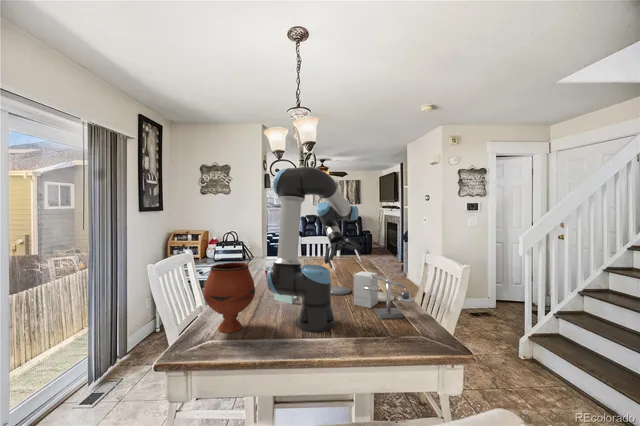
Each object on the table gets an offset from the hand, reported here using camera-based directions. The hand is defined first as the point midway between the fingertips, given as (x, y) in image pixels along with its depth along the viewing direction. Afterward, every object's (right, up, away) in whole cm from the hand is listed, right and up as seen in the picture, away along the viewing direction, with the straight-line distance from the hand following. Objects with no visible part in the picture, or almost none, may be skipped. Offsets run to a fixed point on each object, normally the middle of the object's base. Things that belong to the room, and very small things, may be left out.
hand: (347, 266), depth 152 cm
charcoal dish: (-4, -17, +17) cm, 25 cm away
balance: (+16, -18, -19) cm, 31 cm away
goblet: (-49, -19, -31) cm, 61 cm away
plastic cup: (-41, -17, +25) cm, 51 cm away
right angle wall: (-29, -19, +6) cm, 35 cm away
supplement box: (+8, -18, -4) cm, 20 cm away
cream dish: (+18, -17, +5) cm, 25 cm away
